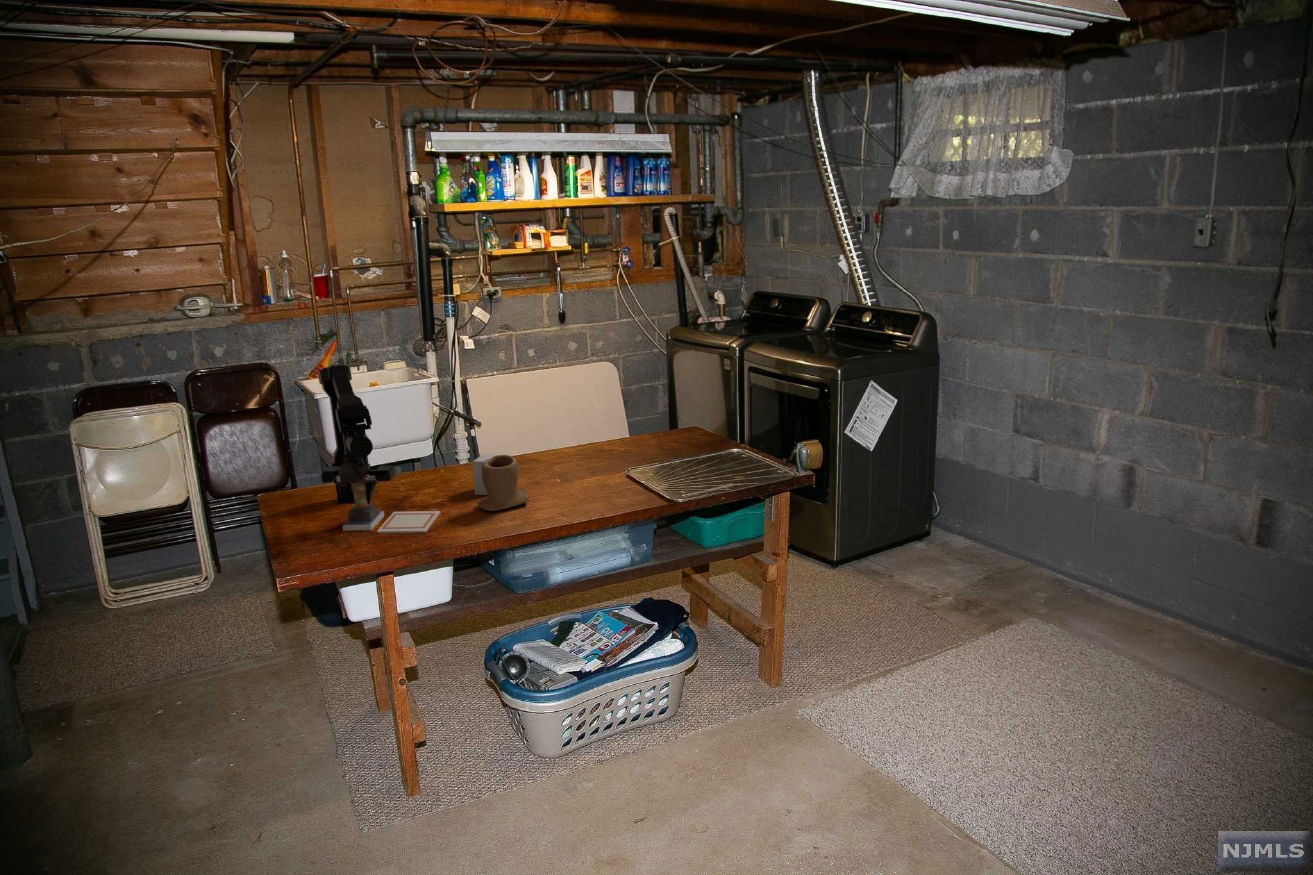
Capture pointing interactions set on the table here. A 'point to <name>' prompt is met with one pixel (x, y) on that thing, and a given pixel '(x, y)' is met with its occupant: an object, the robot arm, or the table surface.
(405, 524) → the board
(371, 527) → the ink pad
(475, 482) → the small box
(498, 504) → the stone cup
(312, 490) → the table surface
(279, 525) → the table surface
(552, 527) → the table surface
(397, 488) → the table surface
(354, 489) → the stamp
